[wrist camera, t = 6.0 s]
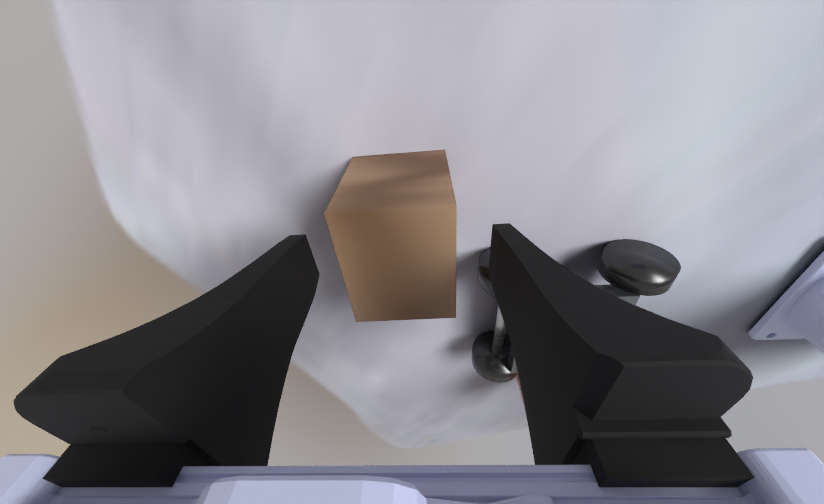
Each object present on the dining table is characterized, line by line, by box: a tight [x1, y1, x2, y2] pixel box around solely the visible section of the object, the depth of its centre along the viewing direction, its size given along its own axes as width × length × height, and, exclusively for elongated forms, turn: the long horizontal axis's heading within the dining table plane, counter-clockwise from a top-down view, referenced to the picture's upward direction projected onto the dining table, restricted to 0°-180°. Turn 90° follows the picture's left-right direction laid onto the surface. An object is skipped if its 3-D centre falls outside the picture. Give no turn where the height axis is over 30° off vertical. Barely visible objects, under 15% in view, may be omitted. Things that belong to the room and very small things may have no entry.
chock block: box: [324, 150, 456, 322], centre depth 13 cm, size 4×5×5 cm
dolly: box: [472, 239, 681, 382], centre depth 17 cm, size 9×8×3 cm
